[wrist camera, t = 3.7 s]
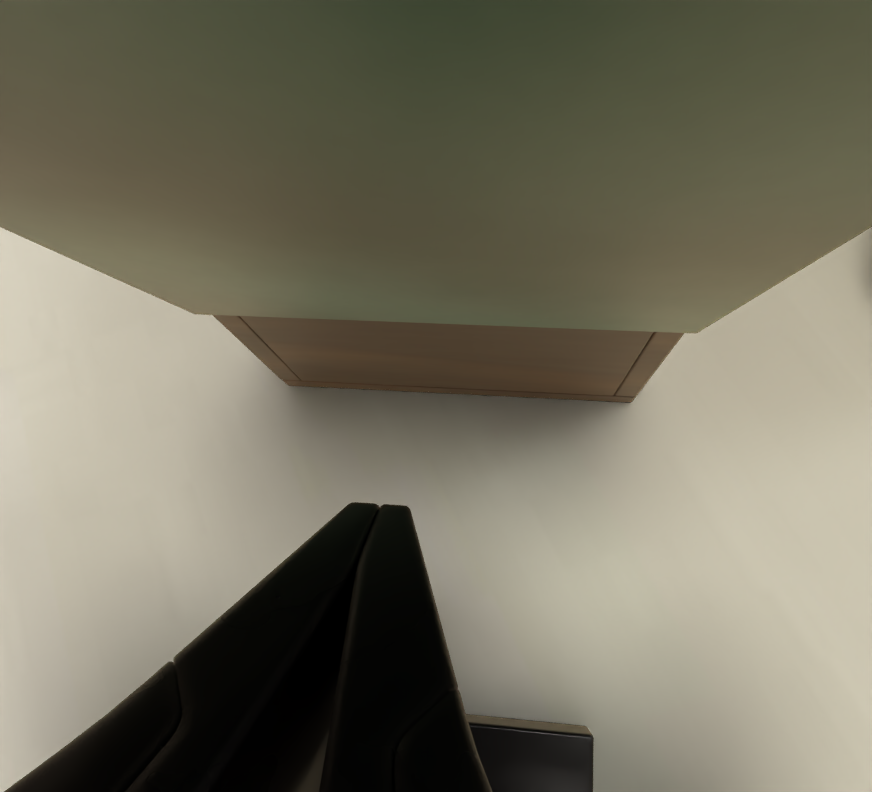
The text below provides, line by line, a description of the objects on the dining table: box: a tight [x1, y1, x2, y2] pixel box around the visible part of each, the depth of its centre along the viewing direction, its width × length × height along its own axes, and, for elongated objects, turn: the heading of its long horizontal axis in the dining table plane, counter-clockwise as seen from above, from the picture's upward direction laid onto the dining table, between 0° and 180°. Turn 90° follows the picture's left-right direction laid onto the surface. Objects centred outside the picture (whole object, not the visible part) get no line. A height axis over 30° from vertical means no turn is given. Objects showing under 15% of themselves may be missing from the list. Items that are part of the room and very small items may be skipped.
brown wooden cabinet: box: [213, 315, 684, 402], centre depth 20 cm, size 13×11×7 cm
